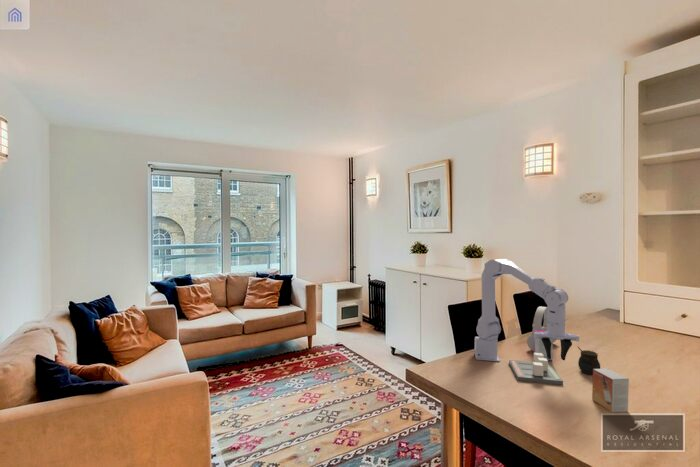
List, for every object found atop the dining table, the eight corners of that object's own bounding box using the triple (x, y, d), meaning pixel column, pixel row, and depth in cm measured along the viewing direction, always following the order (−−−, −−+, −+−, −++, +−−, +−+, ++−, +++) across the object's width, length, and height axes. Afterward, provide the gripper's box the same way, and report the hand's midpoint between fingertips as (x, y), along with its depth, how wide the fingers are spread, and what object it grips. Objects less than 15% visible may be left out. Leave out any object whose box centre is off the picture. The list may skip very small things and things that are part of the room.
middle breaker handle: (539, 370, 134) (539, 360, 134) (537, 367, 137) (537, 357, 137) (547, 371, 134) (547, 360, 133) (545, 368, 136) (545, 358, 136)
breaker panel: (517, 380, 130) (517, 376, 130) (509, 363, 146) (509, 359, 146) (562, 385, 126) (562, 380, 126) (548, 366, 142) (548, 362, 142)
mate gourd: (604, 377, 132) (604, 351, 132) (582, 376, 134) (582, 350, 134) (594, 369, 140) (594, 344, 139) (574, 368, 141) (574, 344, 141)
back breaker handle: (535, 364, 140) (535, 355, 140) (533, 362, 142) (533, 352, 142) (543, 365, 139) (543, 355, 139) (541, 362, 142) (541, 353, 141)
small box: (591, 400, 115) (592, 368, 115) (607, 399, 116) (607, 367, 116) (611, 412, 107) (612, 379, 107) (628, 412, 108) (629, 378, 108)
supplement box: (553, 361, 148) (553, 334, 148) (538, 360, 149) (538, 333, 149) (548, 356, 154) (548, 330, 154) (533, 355, 155) (533, 329, 155)
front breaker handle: (534, 375, 130) (534, 364, 130) (532, 372, 132) (532, 362, 132) (543, 376, 129) (543, 365, 129) (541, 373, 132) (541, 362, 132)
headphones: (539, 340, 176) (539, 302, 175) (558, 344, 170) (558, 304, 169) (526, 350, 161) (526, 309, 161) (546, 355, 155) (546, 312, 155)
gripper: (537, 323, 127) (537, 360, 127) (582, 326, 123) (582, 364, 123) (532, 318, 134) (532, 354, 134) (575, 321, 130) (574, 357, 130)
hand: (555, 358), depth 129 cm, fingers open, 4 cm apart
